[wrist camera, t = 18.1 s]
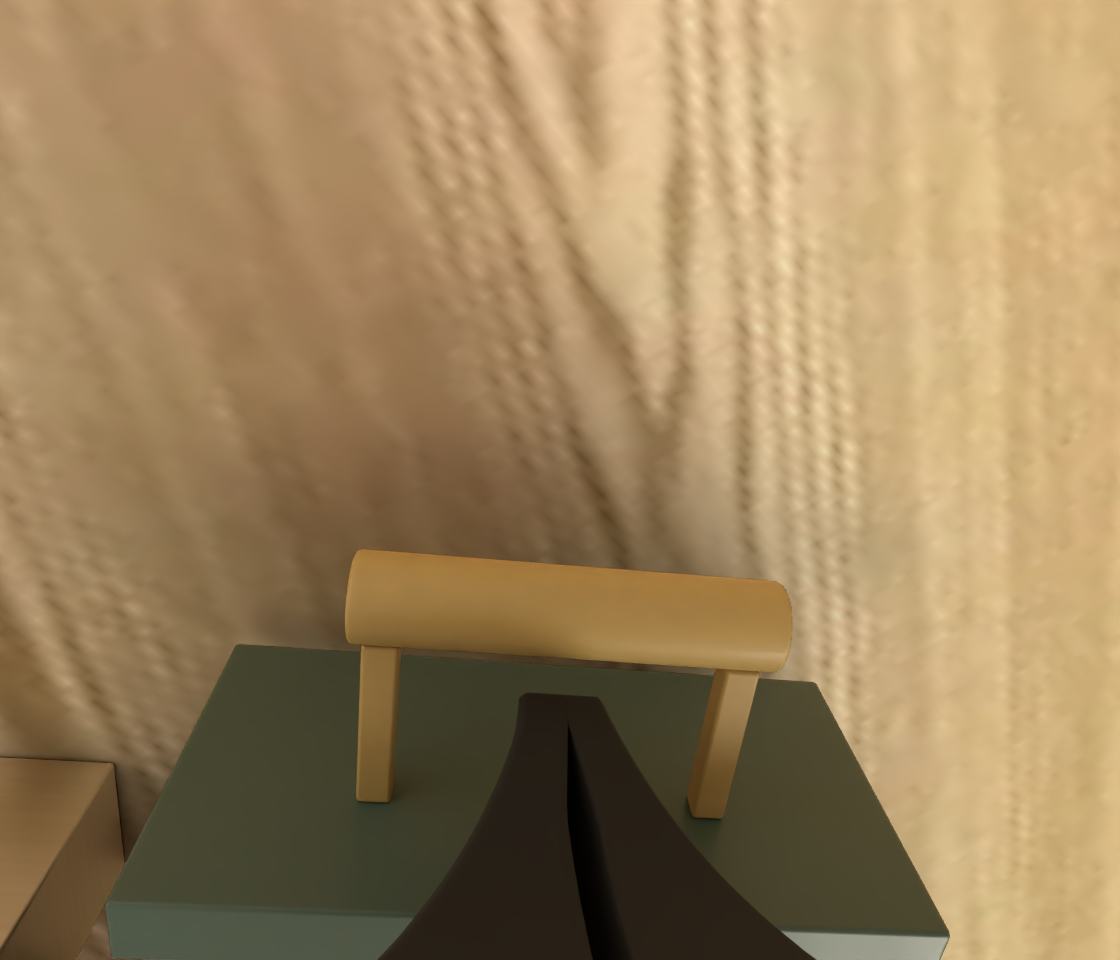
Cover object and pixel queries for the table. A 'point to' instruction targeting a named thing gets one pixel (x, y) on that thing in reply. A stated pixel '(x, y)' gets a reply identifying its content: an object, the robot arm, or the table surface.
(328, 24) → the table surface
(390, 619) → the drawer
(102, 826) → the metal-capped square post
